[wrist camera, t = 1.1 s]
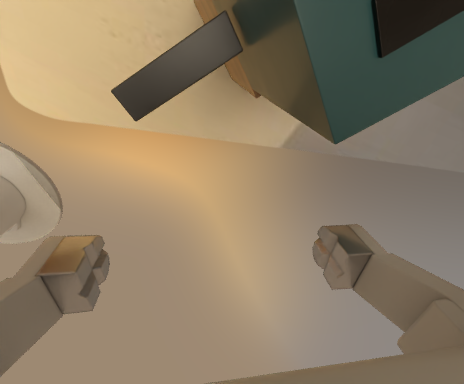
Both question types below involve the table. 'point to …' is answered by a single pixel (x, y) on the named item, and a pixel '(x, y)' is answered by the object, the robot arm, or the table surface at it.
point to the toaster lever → (179, 67)
